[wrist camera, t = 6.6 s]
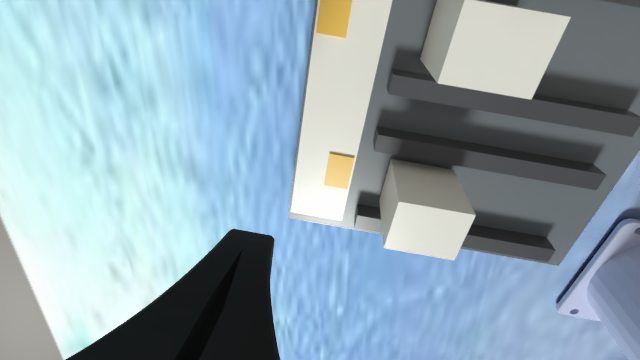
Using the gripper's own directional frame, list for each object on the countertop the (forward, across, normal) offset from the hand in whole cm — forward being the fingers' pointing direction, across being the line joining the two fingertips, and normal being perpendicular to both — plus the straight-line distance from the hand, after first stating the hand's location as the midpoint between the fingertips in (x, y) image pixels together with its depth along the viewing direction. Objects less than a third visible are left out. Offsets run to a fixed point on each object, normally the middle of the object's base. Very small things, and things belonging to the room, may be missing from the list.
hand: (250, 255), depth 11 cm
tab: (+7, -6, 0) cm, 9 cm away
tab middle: (+7, -6, -7) cm, 12 cm away
